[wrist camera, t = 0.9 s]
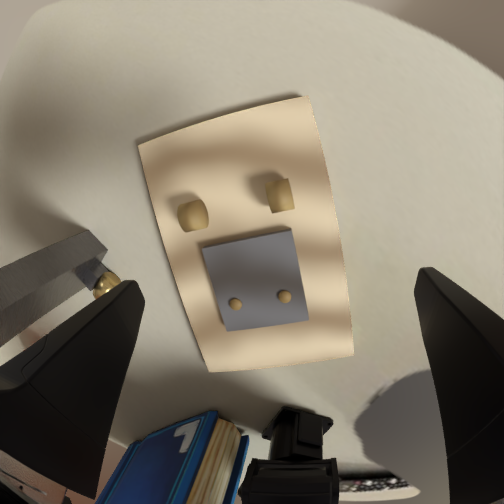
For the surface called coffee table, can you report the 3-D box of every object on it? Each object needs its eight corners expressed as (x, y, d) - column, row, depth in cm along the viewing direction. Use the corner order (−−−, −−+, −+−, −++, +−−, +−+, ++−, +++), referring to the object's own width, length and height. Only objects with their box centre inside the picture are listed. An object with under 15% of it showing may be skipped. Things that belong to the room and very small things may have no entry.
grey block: (131, 273, 27) (26, 354, 13) (109, 307, 28) (20, 386, 15) (88, 230, 26) (-27, 281, 12) (70, 266, 28) (-28, 324, 14)
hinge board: (352, 347, 26) (357, 369, 22) (212, 365, 28) (203, 386, 25) (307, 98, 20) (309, 87, 17) (144, 145, 23) (123, 144, 20)
